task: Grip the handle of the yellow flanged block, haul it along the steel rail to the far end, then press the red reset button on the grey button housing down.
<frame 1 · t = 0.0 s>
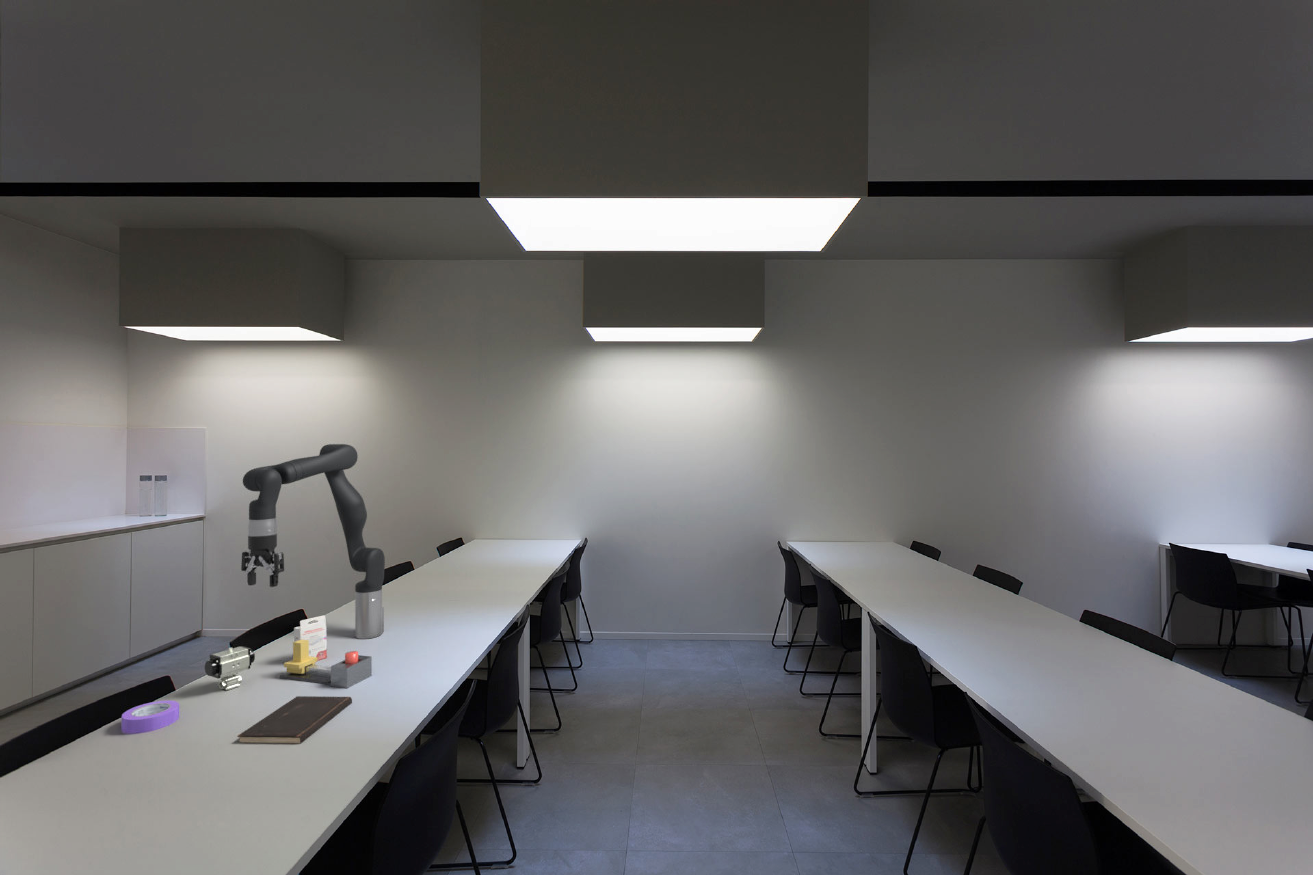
hand: (262, 585, 187), 29 cm above the table, fingers open, 8 cm apart
rail: (315, 676, 191), on the table
ink cartridge box: (310, 660, 205), on the table
hardcover book: (298, 724, 160), on the table
masking tape: (151, 724, 159), on the table
yellow flanged block: (300, 655, 192), point 6 cm above the table, slide at -5.5 cm
pneumatic valve: (231, 688, 182), on the table
reset button: (351, 661, 187), point 6 cm above the table, slide at 0.0 cm
grey button housing: (351, 680, 187), on the table
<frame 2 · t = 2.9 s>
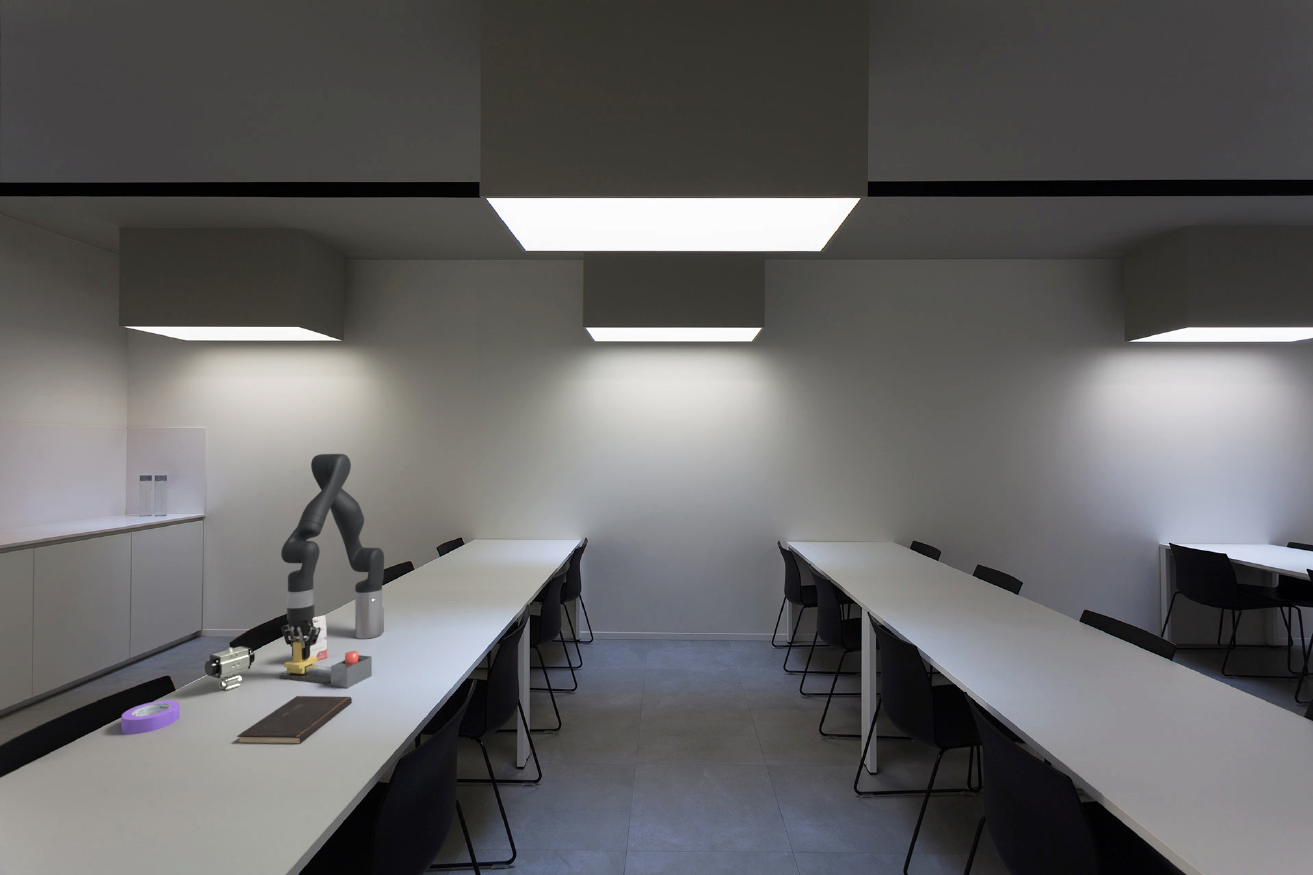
hand: (300, 658, 192), 5 cm above the table, fingers closed on yellow flanged block, 3 cm apart
yellow flanged block: (301, 655, 192), point 6 cm above the table, slide at -5.5 cm, touching gripper
everything else where it was.
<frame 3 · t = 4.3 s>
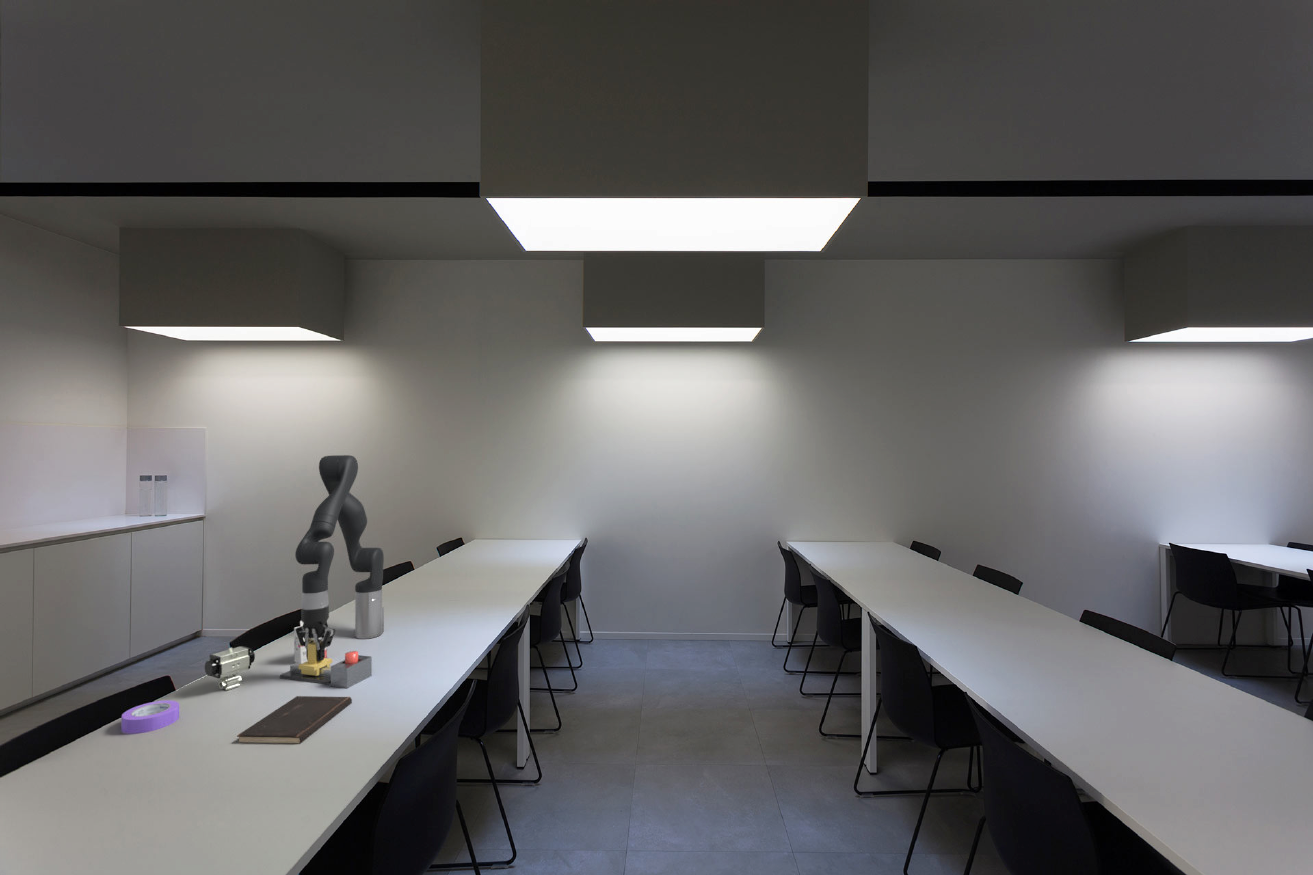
hand: (315, 659, 191), 5 cm above the table, fingers closed on yellow flanged block, 3 cm apart
yellow flanged block: (315, 657, 191), point 6 cm above the table, slide at 0.2 cm, touching gripper
everything else where it was.
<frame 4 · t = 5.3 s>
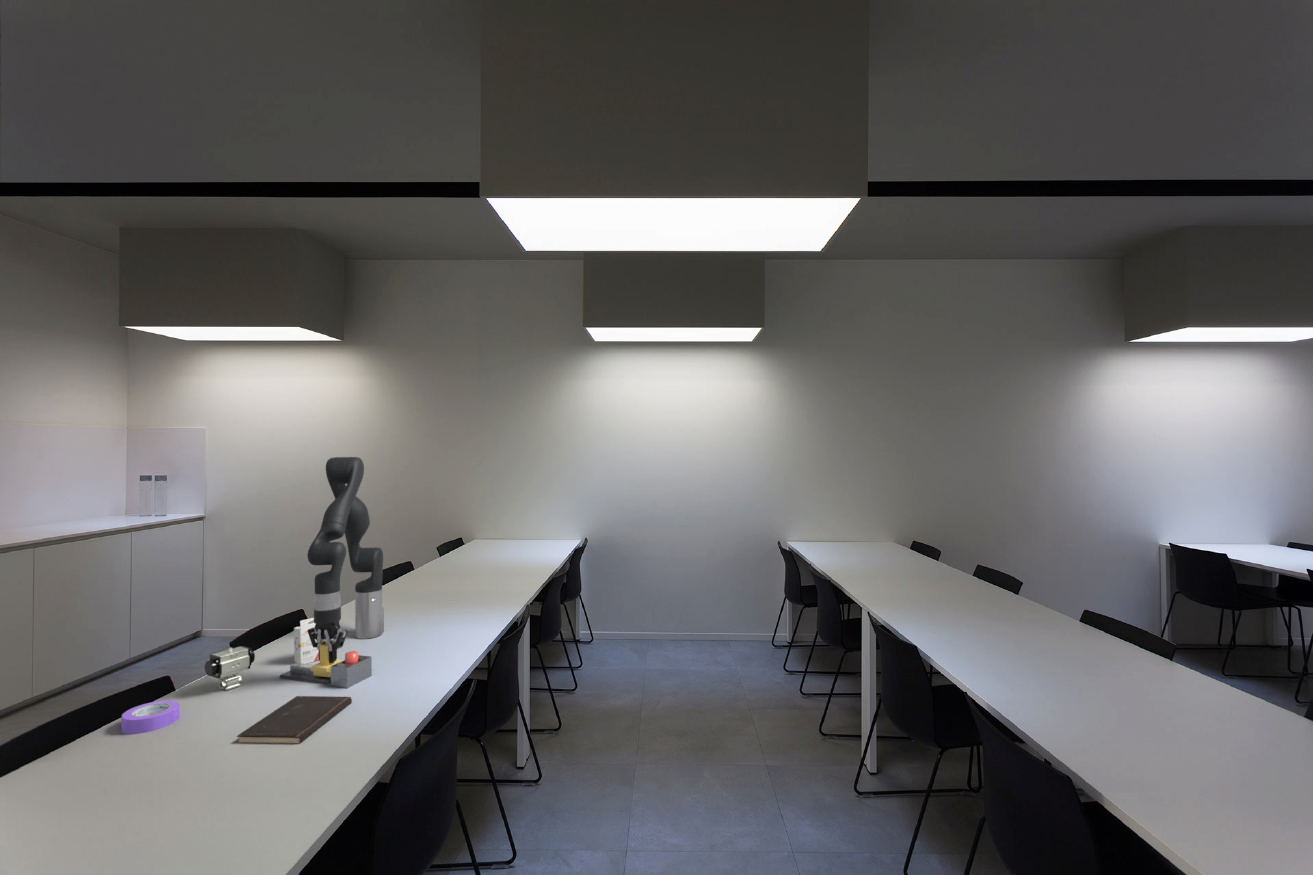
hand: (327, 661, 189), 5 cm above the table, fingers closed on yellow flanged block, 3 cm apart
yellow flanged block: (327, 658, 189), point 6 cm above the table, slide at 4.9 cm, touching gripper
everything else where it was.
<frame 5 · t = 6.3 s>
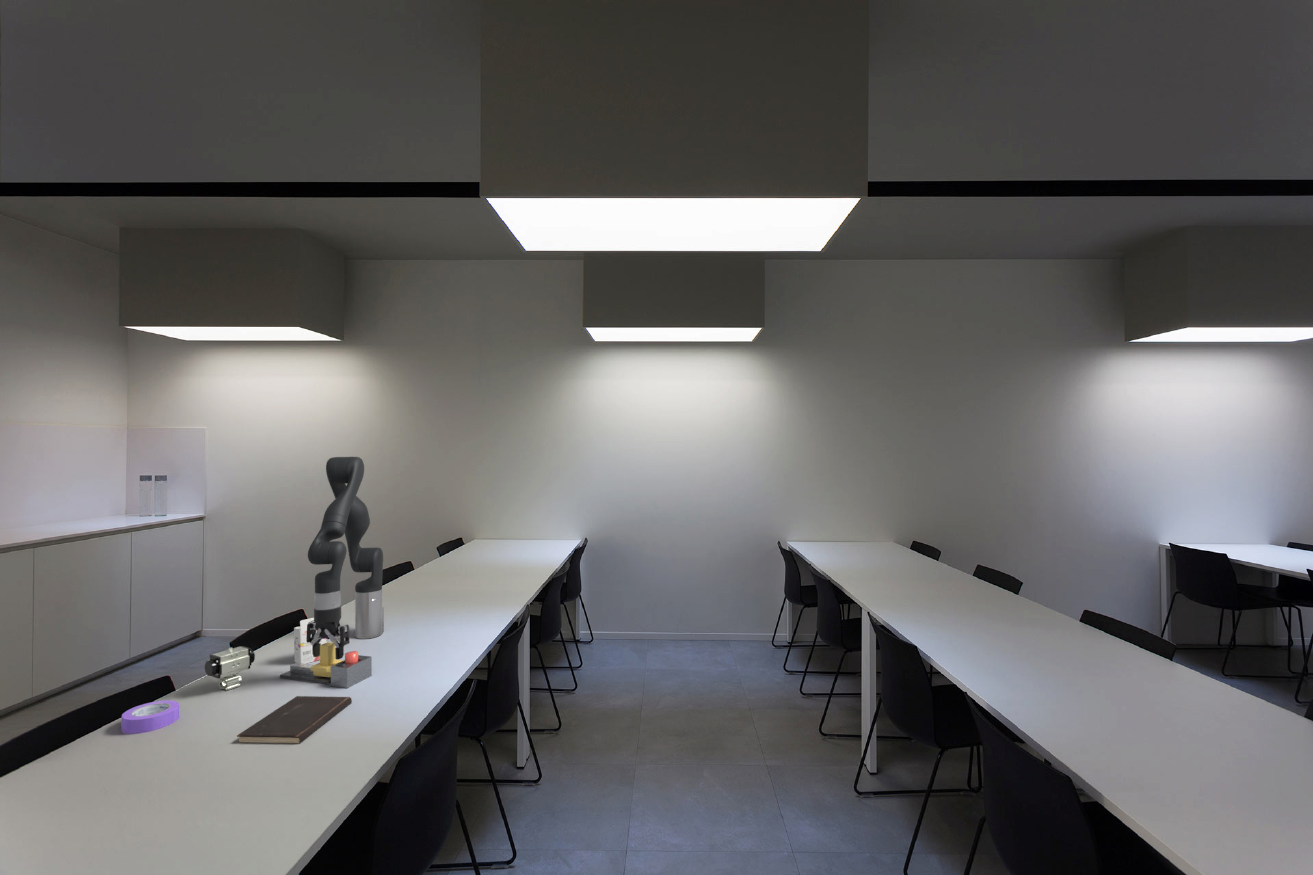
hand: (327, 657, 189), 6 cm above the table, fingers open, 8 cm apart
yellow flanged block: (327, 658, 189), point 6 cm above the table, slide at 5.0 cm
everything else where it was.
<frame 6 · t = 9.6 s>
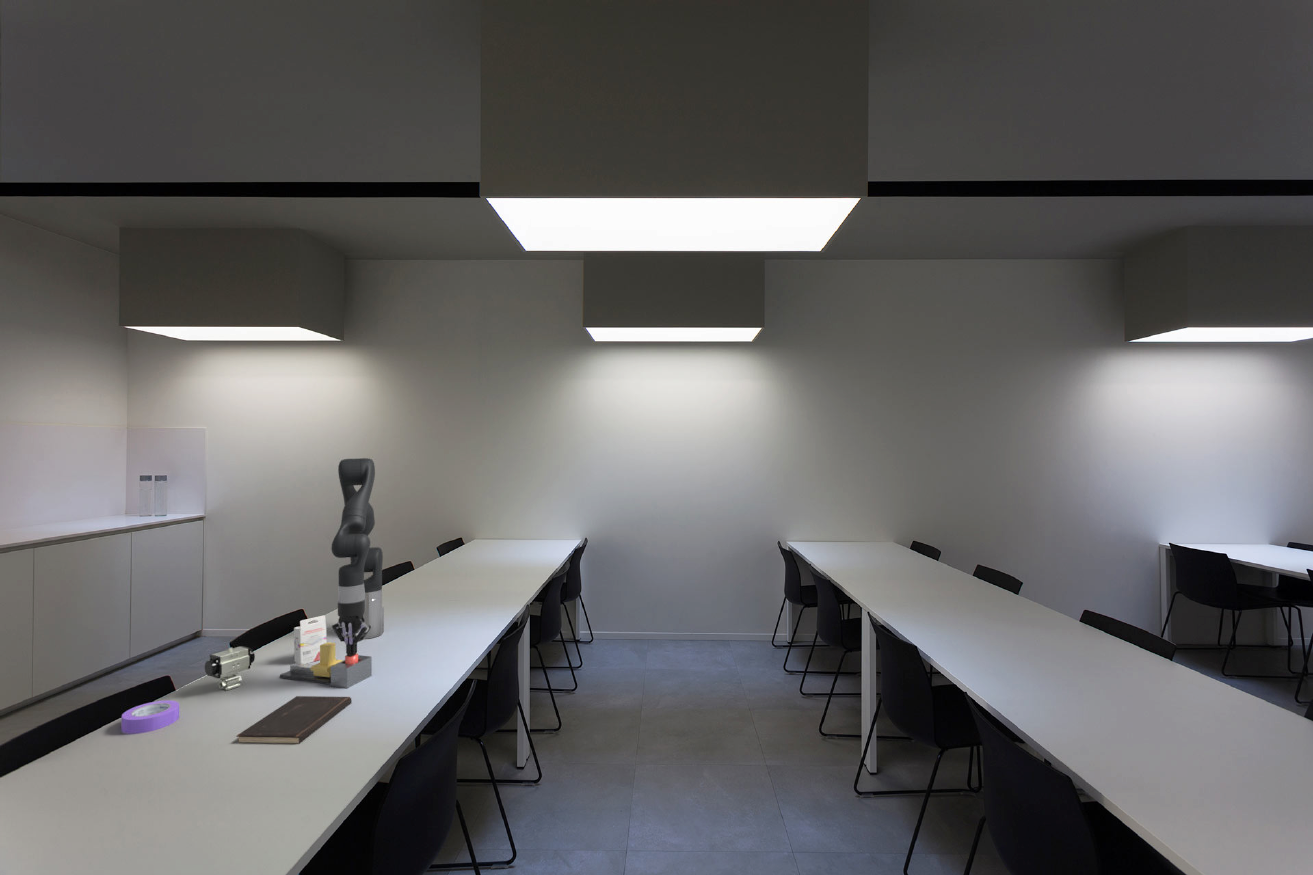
hand: (351, 655, 187), 8 cm above the table, fingers closed
reset button: (351, 663, 187), point 5 cm above the table, slide at 0.7 cm, touching gripper
everything else where it was.
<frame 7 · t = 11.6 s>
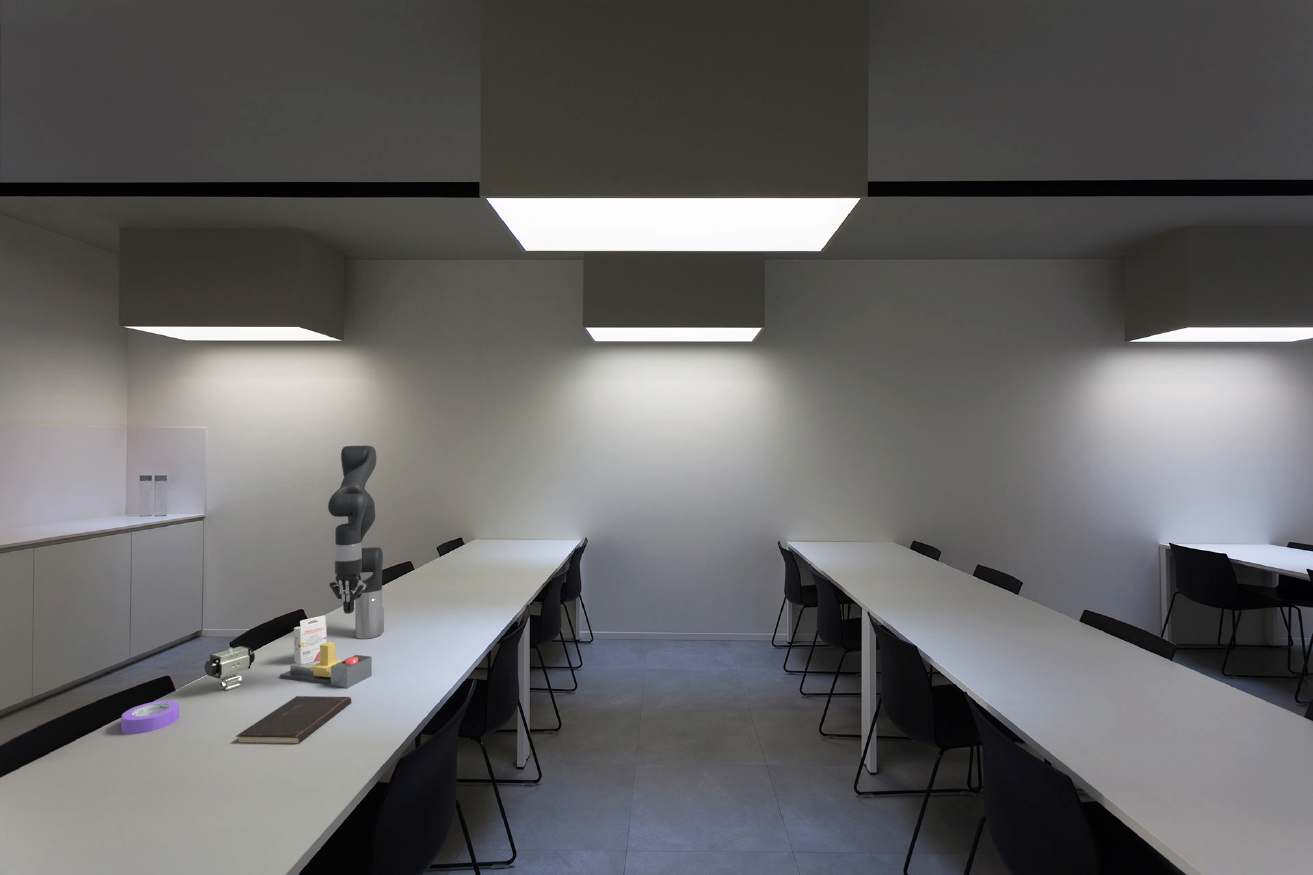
hand: (348, 612, 190), 20 cm above the table, fingers closed
reset button: (351, 667, 187), point 4 cm above the table, slide at 1.8 cm
everything else where it was.
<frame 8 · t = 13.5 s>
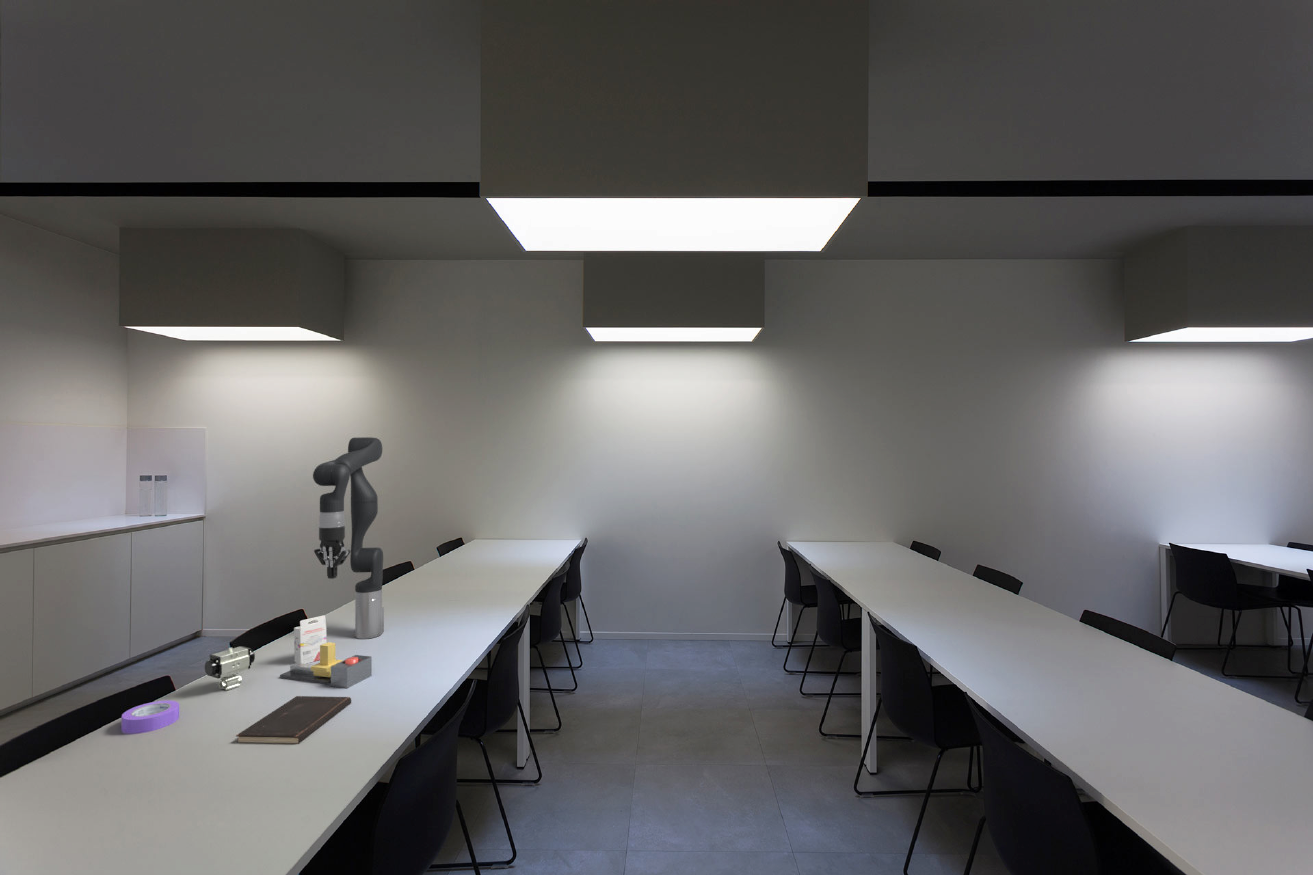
hand: (332, 578, 199), 29 cm above the table, fingers closed
nothing on the table moved.
at the end: yellow flanged block slide at 5.0 cm; reset button slide at 1.8 cm; the gripper is holding nothing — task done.
